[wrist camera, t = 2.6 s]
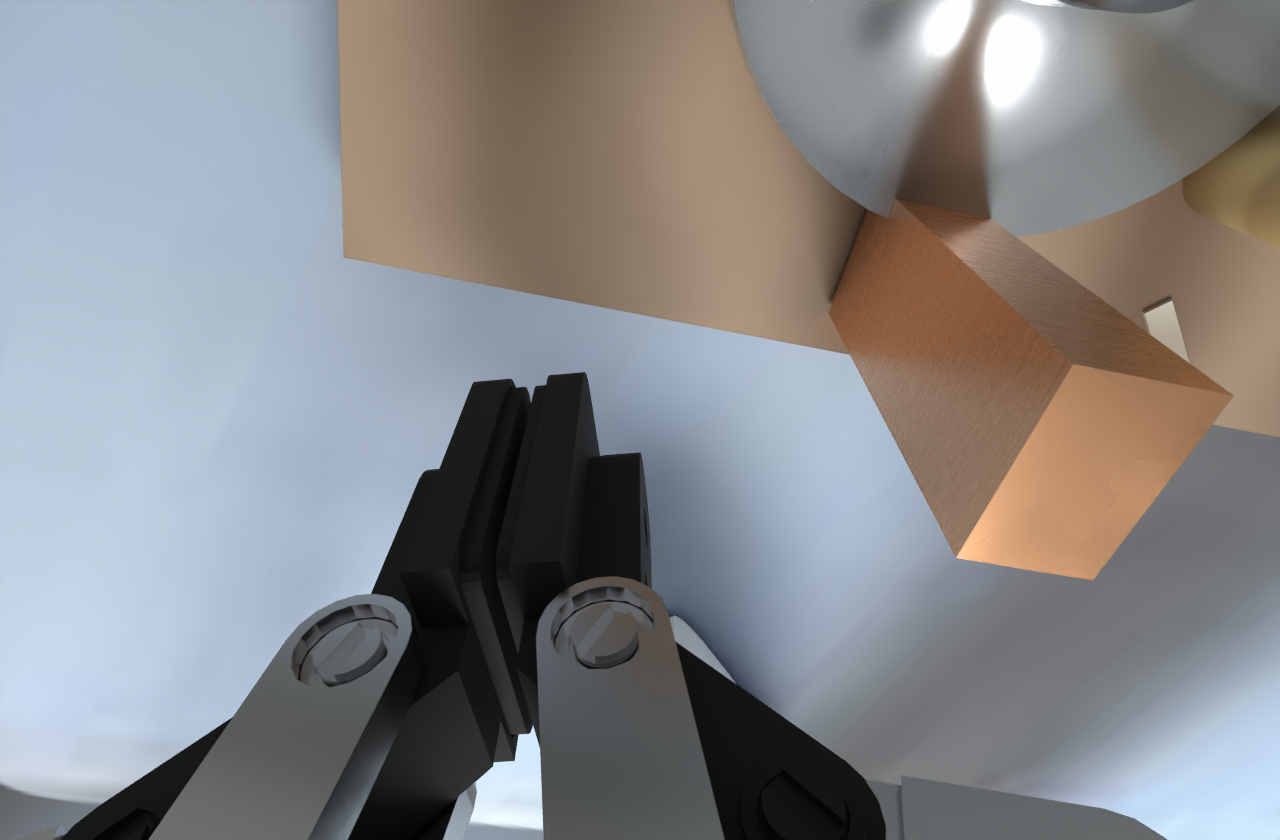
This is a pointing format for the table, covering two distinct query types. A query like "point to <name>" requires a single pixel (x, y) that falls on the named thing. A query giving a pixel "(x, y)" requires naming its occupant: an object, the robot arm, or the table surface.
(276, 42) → the table surface
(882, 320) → the flange plate
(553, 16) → the walnut board
